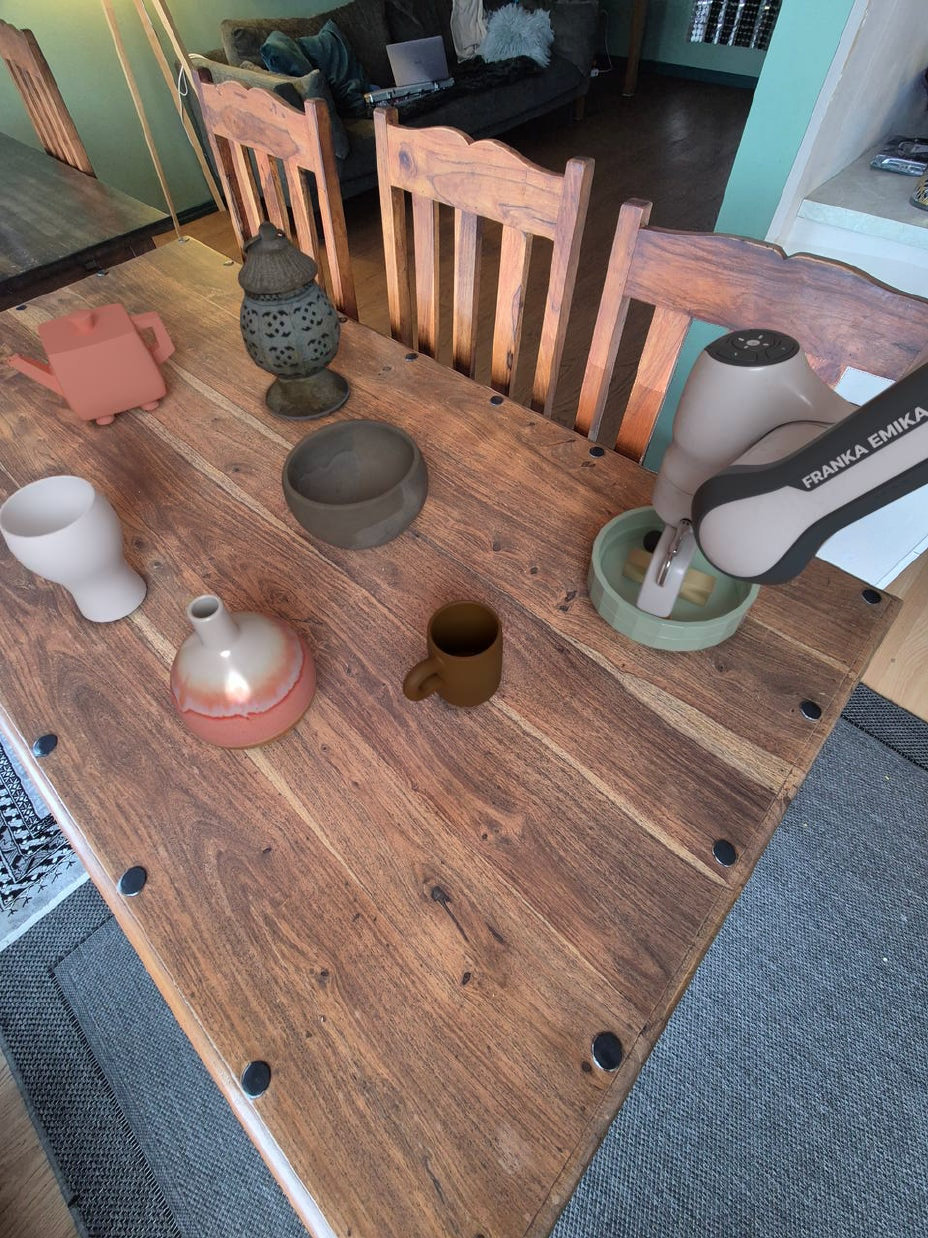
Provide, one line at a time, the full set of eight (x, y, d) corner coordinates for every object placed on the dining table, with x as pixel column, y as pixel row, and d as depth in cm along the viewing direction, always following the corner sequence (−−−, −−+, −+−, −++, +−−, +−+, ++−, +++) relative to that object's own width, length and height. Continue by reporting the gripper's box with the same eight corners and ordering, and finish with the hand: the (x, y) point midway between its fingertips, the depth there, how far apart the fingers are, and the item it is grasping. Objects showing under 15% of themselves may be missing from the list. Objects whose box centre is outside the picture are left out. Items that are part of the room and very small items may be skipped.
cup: (72, 574, 80) (0, 481, 68) (160, 557, 81) (104, 463, 69) (62, 641, 74) (-19, 551, 62) (157, 621, 75) (96, 530, 63)
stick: (708, 592, 75) (717, 577, 73) (703, 607, 74) (711, 592, 71) (627, 562, 77) (633, 546, 75) (621, 575, 76) (626, 560, 74)
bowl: (272, 517, 85) (251, 456, 77) (379, 458, 92) (369, 398, 84) (346, 591, 77) (330, 532, 69) (457, 521, 84) (454, 460, 76)
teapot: (54, 446, 96) (-3, 358, 84) (41, 403, 102) (-14, 317, 91) (198, 399, 102) (163, 312, 91) (177, 362, 109) (142, 277, 97)
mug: (437, 752, 64) (430, 706, 57) (386, 706, 68) (374, 657, 60) (515, 678, 69) (519, 626, 62) (465, 638, 73) (463, 585, 65)
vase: (312, 640, 73) (271, 531, 59) (340, 743, 65) (300, 644, 51) (189, 677, 70) (116, 571, 56) (204, 788, 62) (123, 698, 48)
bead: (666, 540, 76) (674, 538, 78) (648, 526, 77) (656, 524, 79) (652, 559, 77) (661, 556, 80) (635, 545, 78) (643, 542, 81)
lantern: (255, 421, 98) (197, 248, 78) (271, 370, 107) (223, 201, 87) (346, 419, 98) (311, 245, 78) (355, 367, 106) (325, 198, 87)
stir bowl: (761, 563, 78) (776, 534, 74) (723, 679, 69) (738, 653, 65) (617, 516, 84) (623, 487, 80) (562, 617, 74) (567, 589, 70)
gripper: (703, 572, 58) (667, 656, 69) (754, 443, 68) (716, 534, 79) (635, 549, 60) (611, 635, 71) (696, 427, 70) (666, 518, 81)
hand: (667, 581), depth 75 cm, fingers closed on stick, 2 cm apart
